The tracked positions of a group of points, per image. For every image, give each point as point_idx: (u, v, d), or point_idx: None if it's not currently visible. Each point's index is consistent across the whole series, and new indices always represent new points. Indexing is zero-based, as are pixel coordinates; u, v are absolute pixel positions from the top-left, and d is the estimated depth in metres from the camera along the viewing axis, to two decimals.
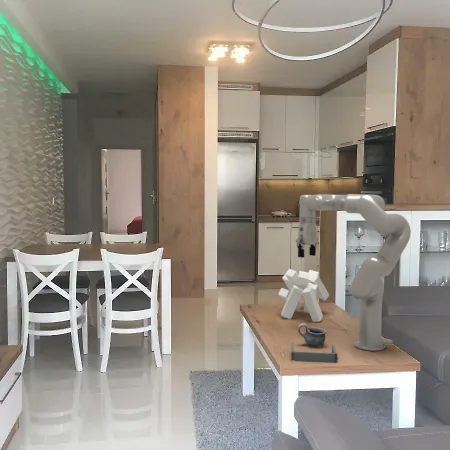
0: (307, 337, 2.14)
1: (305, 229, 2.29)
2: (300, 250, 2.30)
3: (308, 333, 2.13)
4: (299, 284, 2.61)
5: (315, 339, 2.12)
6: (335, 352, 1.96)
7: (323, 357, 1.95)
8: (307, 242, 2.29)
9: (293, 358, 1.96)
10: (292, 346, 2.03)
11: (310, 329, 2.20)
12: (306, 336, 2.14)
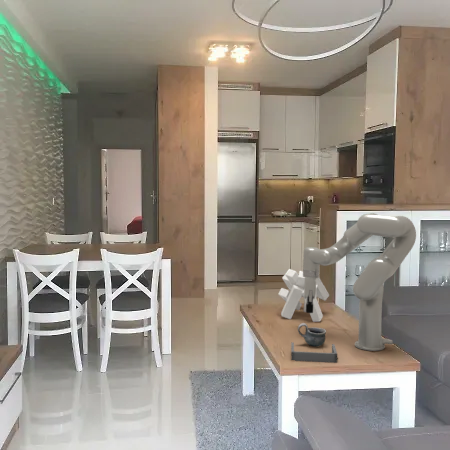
0: (307, 337, 2.14)
1: None
2: None
3: (308, 333, 2.13)
4: (299, 284, 2.61)
5: (315, 339, 2.12)
6: (335, 352, 1.96)
7: (323, 357, 1.95)
8: None
9: (293, 358, 1.96)
10: (292, 346, 2.03)
11: (310, 329, 2.20)
12: (306, 336, 2.14)
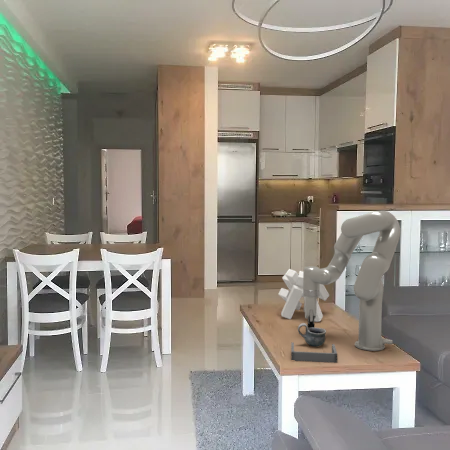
0: (307, 337, 2.14)
1: None
2: None
3: (308, 333, 2.13)
4: (299, 284, 2.61)
5: (315, 339, 2.12)
6: (335, 352, 1.96)
7: (323, 357, 1.95)
8: None
9: (293, 358, 1.96)
10: (292, 346, 2.03)
11: (310, 329, 2.20)
12: (306, 336, 2.14)
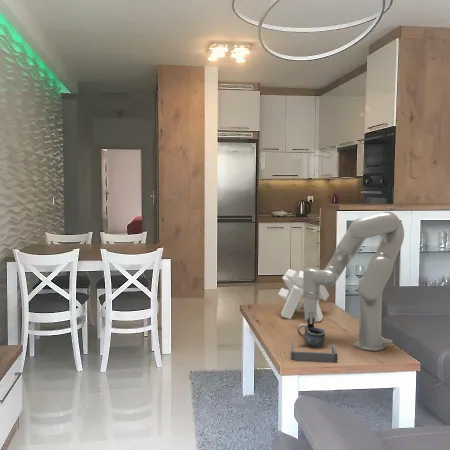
0: (307, 337, 2.13)
1: None
2: None
3: (308, 333, 2.12)
4: (299, 284, 2.61)
5: (315, 339, 2.11)
6: (335, 352, 1.96)
7: (323, 357, 1.95)
8: None
9: (293, 358, 1.96)
10: (292, 346, 2.03)
11: (309, 329, 2.19)
12: (306, 336, 2.13)
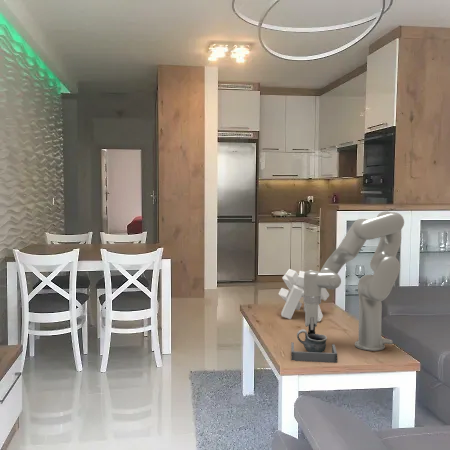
0: (307, 344, 2.04)
1: None
2: None
3: (308, 340, 2.03)
4: (299, 284, 2.61)
5: (315, 346, 2.02)
6: (335, 352, 1.96)
7: (323, 357, 1.95)
8: None
9: (293, 358, 1.96)
10: (292, 346, 2.03)
11: (310, 335, 2.10)
12: (306, 343, 2.04)
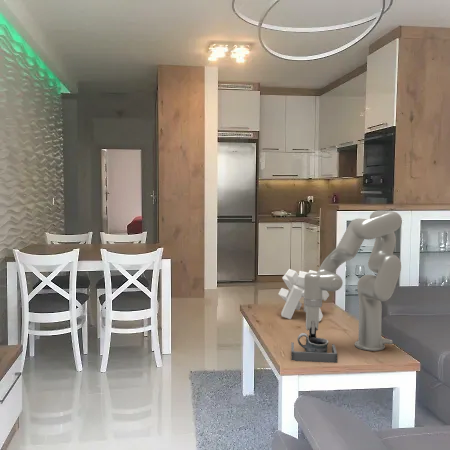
0: (308, 348, 1.98)
1: None
2: None
3: (309, 344, 1.98)
4: (299, 284, 2.61)
5: (316, 350, 1.96)
6: (335, 352, 1.96)
7: (323, 357, 1.95)
8: None
9: (293, 358, 1.96)
10: (292, 346, 2.03)
11: (311, 339, 2.04)
12: (306, 347, 1.99)
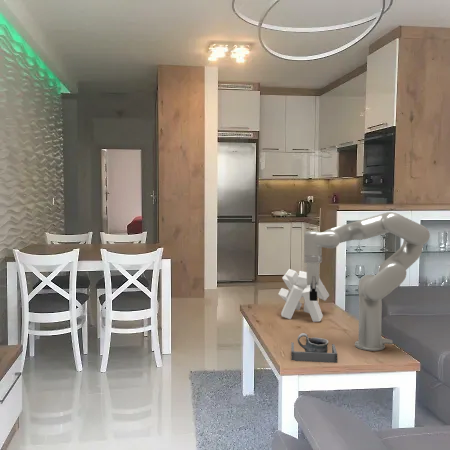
0: (308, 348, 1.98)
1: None
2: None
3: (309, 344, 1.98)
4: (299, 284, 2.61)
5: (316, 350, 1.96)
6: (335, 352, 1.96)
7: (323, 357, 1.95)
8: None
9: (293, 358, 1.96)
10: (292, 346, 2.03)
11: (311, 339, 2.04)
12: (306, 347, 1.99)
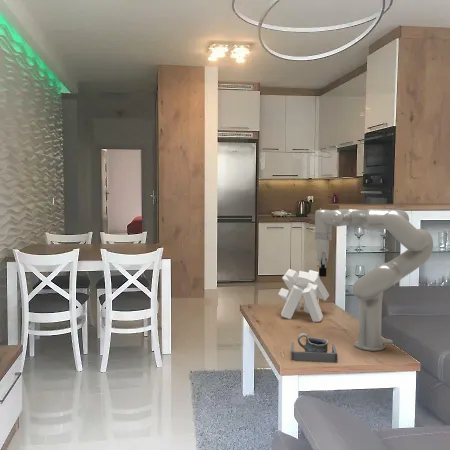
0: (308, 348, 1.98)
1: None
2: None
3: (309, 344, 1.98)
4: (299, 284, 2.61)
5: (316, 350, 1.96)
6: (335, 352, 1.96)
7: (323, 357, 1.95)
8: None
9: (293, 358, 1.96)
10: (292, 346, 2.03)
11: (311, 339, 2.04)
12: (306, 347, 1.99)
